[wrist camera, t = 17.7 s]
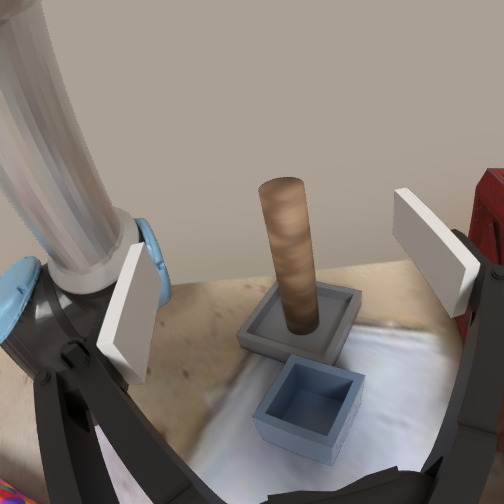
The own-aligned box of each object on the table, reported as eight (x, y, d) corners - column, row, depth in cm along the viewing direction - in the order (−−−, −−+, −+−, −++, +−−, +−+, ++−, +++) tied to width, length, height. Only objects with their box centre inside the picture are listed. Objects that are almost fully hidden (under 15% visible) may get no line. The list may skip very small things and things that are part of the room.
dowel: (280, 330, 47) (249, 195, 34) (295, 307, 50) (271, 176, 37) (311, 339, 44) (292, 199, 32) (324, 314, 47) (310, 178, 35)
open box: (263, 439, 34) (251, 417, 30) (296, 383, 40) (291, 353, 36) (331, 465, 29) (332, 448, 25) (360, 403, 35) (365, 375, 31)
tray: (240, 347, 47) (236, 334, 45) (283, 287, 56) (280, 274, 54) (328, 376, 40) (328, 364, 38) (361, 304, 49) (361, 290, 47)
